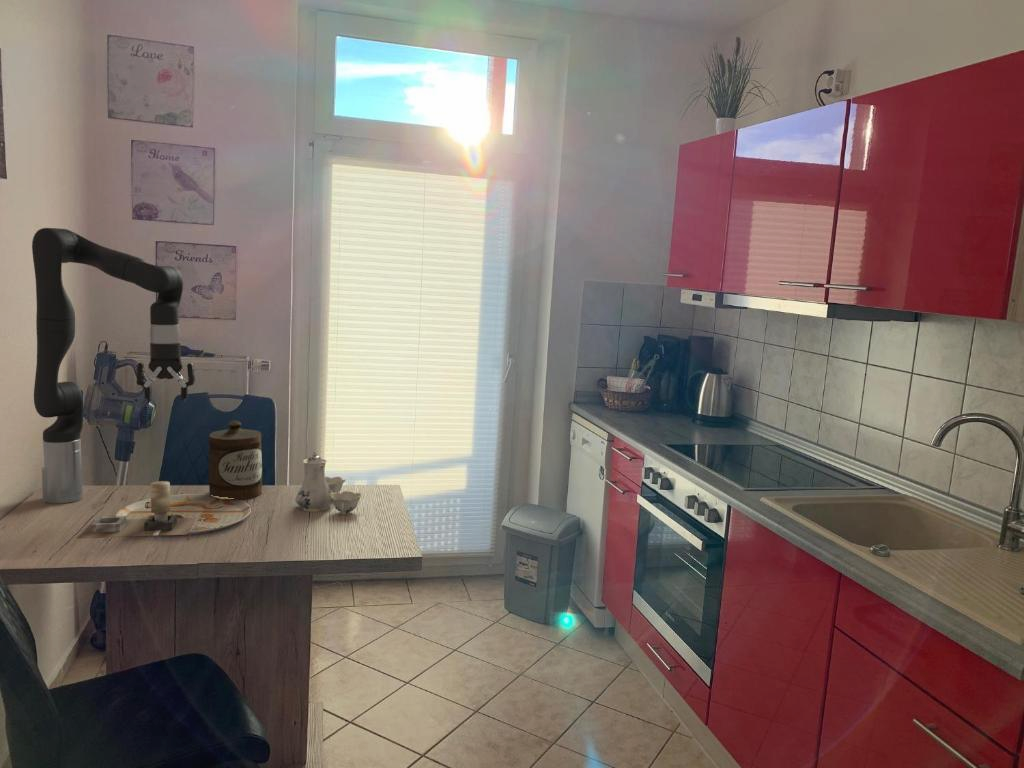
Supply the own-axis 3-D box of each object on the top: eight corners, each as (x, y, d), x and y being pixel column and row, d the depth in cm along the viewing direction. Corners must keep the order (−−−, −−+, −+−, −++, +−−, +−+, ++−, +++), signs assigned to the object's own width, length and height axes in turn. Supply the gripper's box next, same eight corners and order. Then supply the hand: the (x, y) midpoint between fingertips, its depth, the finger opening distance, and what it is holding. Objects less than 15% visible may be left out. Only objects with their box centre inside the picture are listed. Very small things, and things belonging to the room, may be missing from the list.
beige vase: (149, 529, 202) (148, 486, 201) (153, 523, 206) (152, 481, 205) (168, 528, 203) (167, 485, 201) (172, 523, 207) (171, 481, 206)
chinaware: (369, 521, 224) (376, 462, 223) (310, 523, 216) (317, 462, 214) (334, 496, 248) (340, 442, 247) (280, 497, 239) (286, 441, 238)
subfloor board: (76, 544, 194) (76, 530, 194) (93, 526, 208) (93, 512, 207) (187, 540, 200) (187, 526, 199) (197, 522, 213) (197, 509, 213)
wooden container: (225, 503, 231) (224, 427, 228) (200, 492, 241) (198, 419, 238) (271, 494, 242) (271, 421, 239) (246, 484, 252) (245, 414, 249)
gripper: (133, 342, 213) (135, 403, 215) (190, 342, 216) (192, 403, 218) (139, 339, 221) (141, 398, 223) (195, 340, 224) (196, 398, 226)
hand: (166, 400), depth 221 cm, fingers open, 8 cm apart
